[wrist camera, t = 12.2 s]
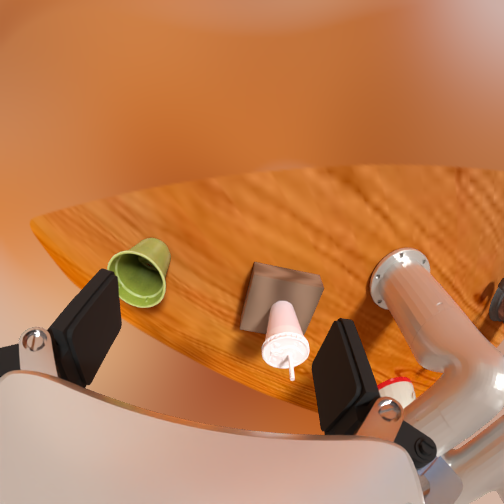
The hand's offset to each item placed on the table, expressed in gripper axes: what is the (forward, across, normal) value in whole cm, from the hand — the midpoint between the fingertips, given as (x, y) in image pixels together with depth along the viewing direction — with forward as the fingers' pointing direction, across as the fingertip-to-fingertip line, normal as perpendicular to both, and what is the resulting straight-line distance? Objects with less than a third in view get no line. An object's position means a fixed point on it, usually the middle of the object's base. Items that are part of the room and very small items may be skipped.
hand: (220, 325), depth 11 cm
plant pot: (+31, +13, +15) cm, 36 cm away
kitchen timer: (+31, -48, +44) cm, 72 cm away
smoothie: (+26, -9, +18) cm, 33 cm away
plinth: (+30, -9, +18) cm, 36 cm away
